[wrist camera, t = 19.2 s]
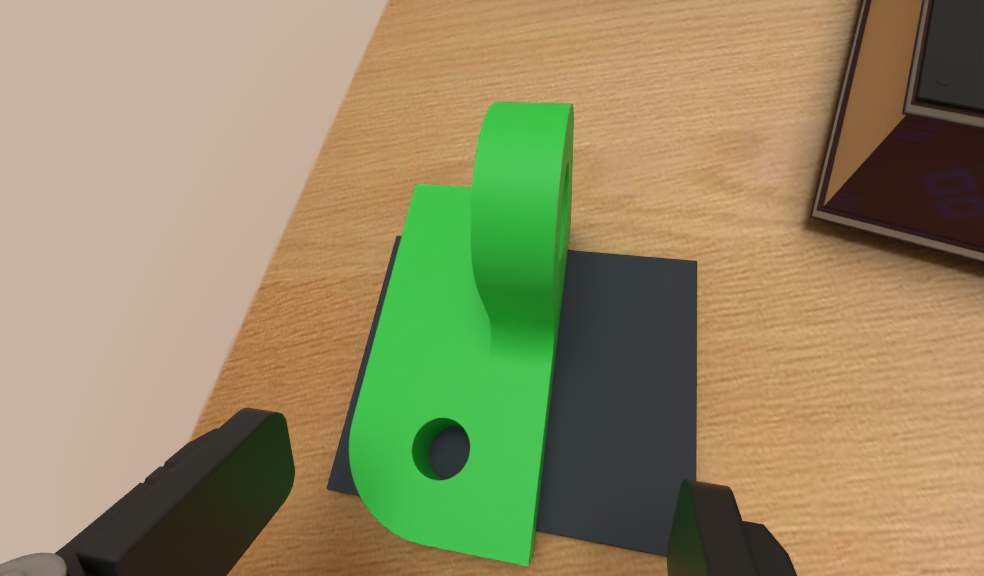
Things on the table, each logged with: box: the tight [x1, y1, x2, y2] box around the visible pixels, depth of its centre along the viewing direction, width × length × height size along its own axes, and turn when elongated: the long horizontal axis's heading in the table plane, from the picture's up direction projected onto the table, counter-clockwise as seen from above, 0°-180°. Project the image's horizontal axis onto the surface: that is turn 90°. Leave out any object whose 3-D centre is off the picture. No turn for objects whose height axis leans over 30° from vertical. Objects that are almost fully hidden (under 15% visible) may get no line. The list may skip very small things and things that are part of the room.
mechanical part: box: [349, 102, 574, 566], centre depth 14 cm, size 12×6×8 cm, turn 171°
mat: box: [327, 236, 697, 557], centre depth 17 cm, size 12×10×1 cm
